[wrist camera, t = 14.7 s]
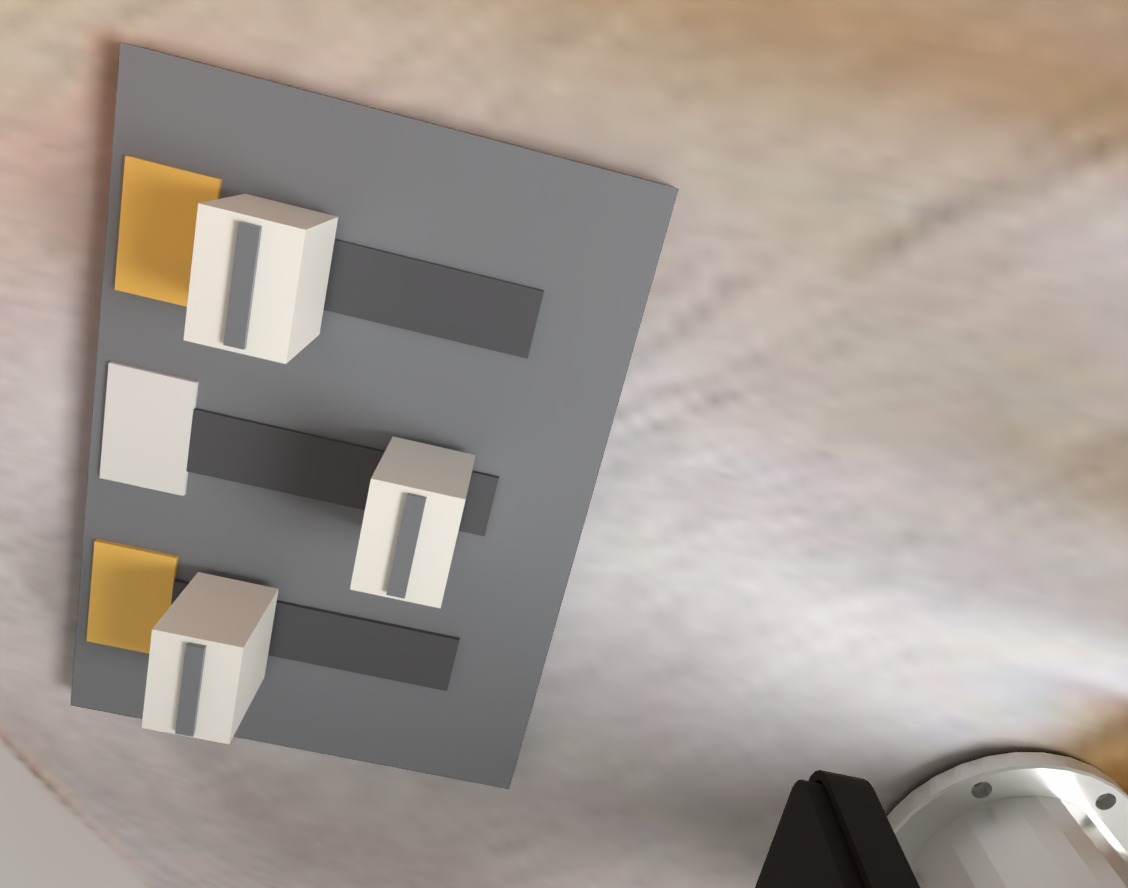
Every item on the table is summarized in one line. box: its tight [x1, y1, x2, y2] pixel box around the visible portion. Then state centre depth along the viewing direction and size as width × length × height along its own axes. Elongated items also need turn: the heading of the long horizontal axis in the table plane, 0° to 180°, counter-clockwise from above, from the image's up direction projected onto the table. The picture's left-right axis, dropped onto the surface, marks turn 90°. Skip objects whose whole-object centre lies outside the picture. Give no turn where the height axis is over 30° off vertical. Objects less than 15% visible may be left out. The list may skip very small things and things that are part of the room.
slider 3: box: [350, 436, 476, 608], centre depth 30 cm, size 4×3×4 cm
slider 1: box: [184, 194, 338, 364], centre depth 27 cm, size 4×3×4 cm
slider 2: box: [142, 572, 278, 744], centre depth 31 cm, size 4×3×4 cm
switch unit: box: [71, 42, 678, 789], centre depth 32 cm, size 25×18×1 cm
